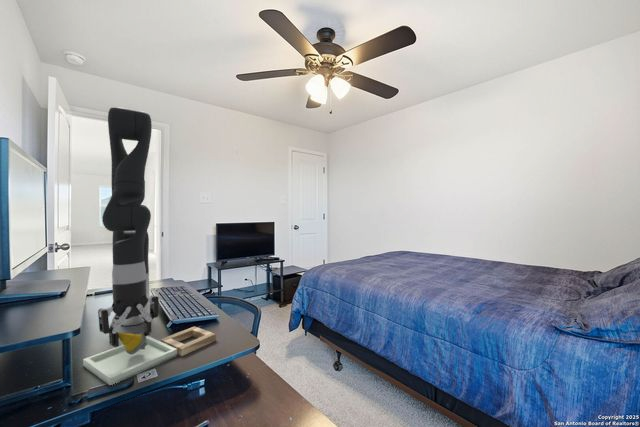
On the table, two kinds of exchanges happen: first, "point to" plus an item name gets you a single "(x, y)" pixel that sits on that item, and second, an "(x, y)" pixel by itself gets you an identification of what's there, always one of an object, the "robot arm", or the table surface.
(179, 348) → the square wooden frame
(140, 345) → the yellow cone
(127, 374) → the tray
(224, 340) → the table surface
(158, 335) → the table surface
